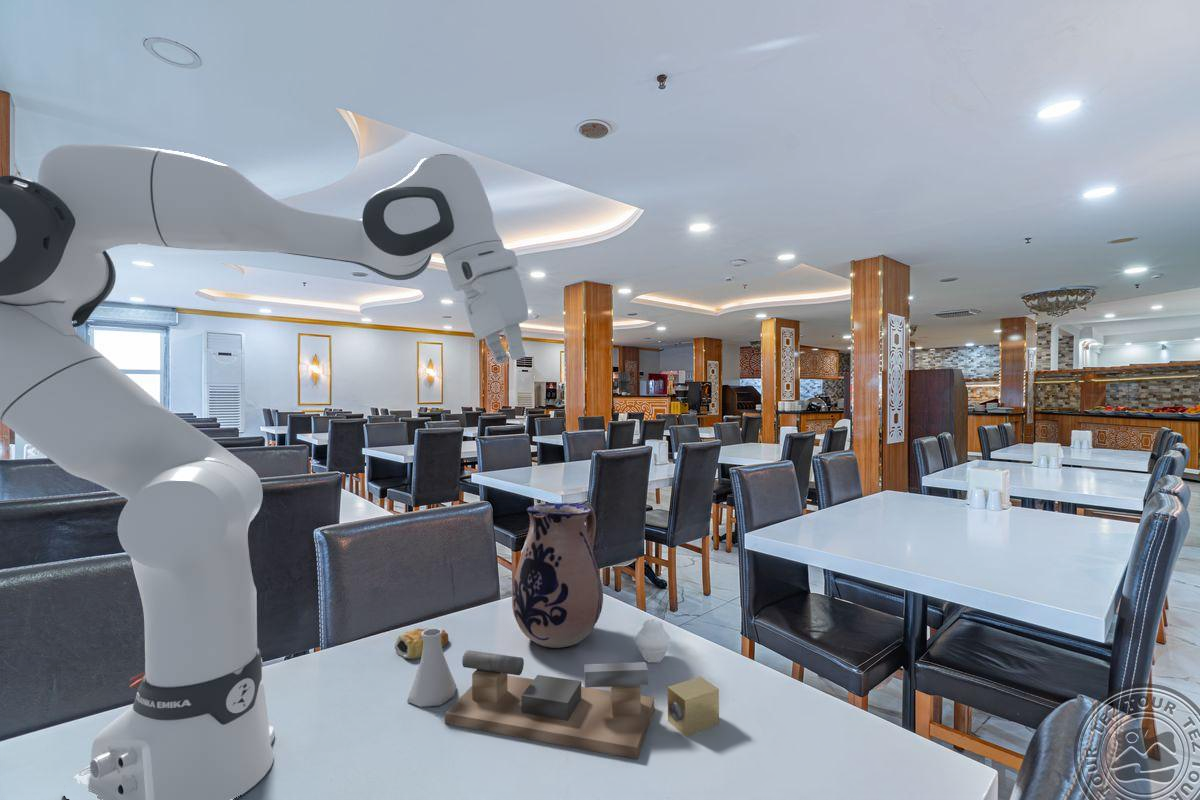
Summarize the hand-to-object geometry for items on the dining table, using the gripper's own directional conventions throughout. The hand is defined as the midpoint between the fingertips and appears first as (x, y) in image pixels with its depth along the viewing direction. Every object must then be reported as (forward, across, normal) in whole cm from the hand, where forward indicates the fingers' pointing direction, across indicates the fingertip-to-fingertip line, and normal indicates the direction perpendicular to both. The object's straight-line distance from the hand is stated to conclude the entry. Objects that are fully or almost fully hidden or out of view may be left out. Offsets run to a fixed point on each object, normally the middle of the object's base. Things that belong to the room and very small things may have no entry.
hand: (510, 361), depth 82 cm
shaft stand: (+51, +4, -12) cm, 52 cm away
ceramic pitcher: (+54, -21, -2) cm, 58 cm away
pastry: (+46, -26, -27) cm, 59 cm away
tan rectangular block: (+56, +14, +4) cm, 58 cm away
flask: (+46, -8, -27) cm, 54 cm away
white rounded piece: (+58, -4, +8) cm, 59 cm away
